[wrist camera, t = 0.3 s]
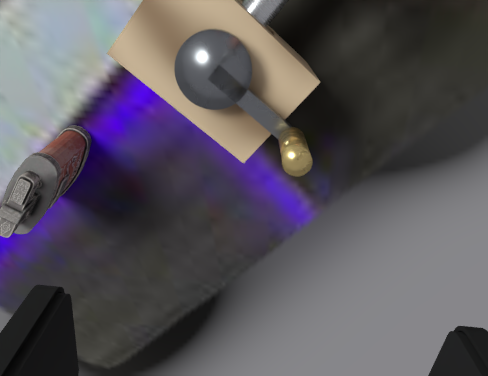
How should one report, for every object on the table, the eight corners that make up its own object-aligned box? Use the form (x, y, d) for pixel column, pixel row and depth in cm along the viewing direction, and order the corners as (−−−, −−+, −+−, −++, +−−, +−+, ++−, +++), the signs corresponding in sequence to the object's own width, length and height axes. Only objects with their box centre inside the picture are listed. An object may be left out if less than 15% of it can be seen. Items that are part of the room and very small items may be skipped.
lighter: (66, 199, 41) (14, 259, 32) (35, 182, 40) (-28, 239, 31) (99, 137, 38) (51, 184, 29) (65, 118, 37) (5, 160, 28)
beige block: (196, -44, 31) (178, -53, 24) (306, 61, 34) (320, 82, 27) (138, 38, 34) (107, 53, 26) (245, 129, 37) (243, 163, 30)
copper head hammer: (327, -121, 28) (370, -182, 18) (361, -81, 29) (421, -117, 19) (170, 82, 35) (135, 123, 24) (202, 109, 36) (182, 159, 25)
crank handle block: (208, 10, 25) (199, 16, 20) (324, 117, 28) (338, 142, 23) (162, 72, 27) (143, 89, 22) (275, 166, 30) (279, 198, 25)
